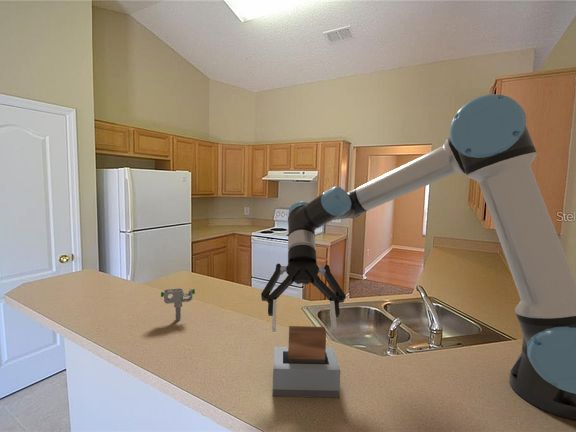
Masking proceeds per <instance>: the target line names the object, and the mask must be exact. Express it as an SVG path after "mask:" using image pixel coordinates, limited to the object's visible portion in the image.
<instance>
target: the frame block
mask: <svg viewBox="0 0 576 432" xmlns="http://www.w3.org/2000/svg"><path fill="white" fill-rule="evenodd" d="M273 352H274V353H273V371H272V397H293V398H294V397H296V398H297V397H298V398H300V397H301V398H302V397H305V398H306V397H307V398H340V388H341V386H340V384H341V369H340V365H339V362H338V358H337V355H336V352H335V349H334V347H326V351H325V364H288V346H274V351H273Z"/></svg>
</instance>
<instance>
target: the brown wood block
mask: <svg viewBox="0 0 576 432" xmlns="http://www.w3.org/2000/svg"><path fill="white" fill-rule="evenodd" d="M326 345H327V331H326V328H325V326H310V325H309V326H305V325H304V326H301V325H297V326H296V325H289V326H288V346H287V347H288V364H325V351H326V348H327V346H326Z"/></svg>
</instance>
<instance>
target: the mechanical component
mask: <svg viewBox="0 0 576 432" xmlns="http://www.w3.org/2000/svg"><path fill="white" fill-rule="evenodd" d="M183 290H184V289H183V288H171V289H163V291H160V297H161V298H163V301H164V303H165V304H174V305H173V308H175V321H177V322H179V321H181V318H182V315H181V314H182V313H181V311H182V310H181V308H182V307H183V303H188V302H191V301H192V300H193V295H195V293H196V290H195V289H194V288H192V287H191V288H189V290H188V292H185V291H183ZM170 295H172V296H170Z"/></svg>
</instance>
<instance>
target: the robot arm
mask: <svg viewBox="0 0 576 432" xmlns="http://www.w3.org/2000/svg"><path fill="white" fill-rule="evenodd" d="M526 119H527V114H526V112H525V110H524V108H523V106H521V104H520V103H518V101H517V100H515V99H514V98H512V97H510V96H507V95H504V94H498V93H497V94H496V93H493V94H485V95H480V96H478V97H476V98H473V99H471V100H470V101H468V102H467V103H465V104H463V106H461V108H459V109H458V111H457V112H456V114H455V115H454V116H453V118H452V120H451V124H450V128H449V138H447V139H445V141H444V143H443V145H442V146H440V147H437V148H436V149H434V150H431V151H429V152H427V153H425V154H423V155H422V156H419V157H417V158H414V159H413V160H411V161H409V162H406V163H404V164H402V165H401V166H399V167H397V168H394V169H393V170H390V171H389V172H386V173H384V174H383V175H380V176H378V177H376V178H375V179H371V180H370V181H368V182H366V183H364V184H362V185H360V186H359V187H356V188H355V189H352V190H350V191H348V192H347V191H346V190H345V189H344V188H342V187H341V186H338V185H336V186H333V187H331V188H329V189H327V190H325V191H324V192H323V193H322V194H319V196H317V197H316V198H314V199H313V200H311V201H310V202H308V201H307V202H306V201H299V202H294V203H293V204H291V205H290V207H288V208H289V210H288V215H287V224H288V226H287V227H288V229H287V230H288V231H287V232H288V234H287V237H288V238H287V265H286V266H285V265H281V263H276V265H275V270H274V272H273V274H272V276H271V277H270V279H269V280H268V282H267V283H266V285H265V287H264V289H263V290H262V291H261V294H260V295H261V296H260V297H261V301H262V302H267V305H268V306H267V315H268V317H269V316H270V317H272V323H271V324H272V325H271V327H272V329H271V330H272V332H275V333H276V325H277V300H278V298H279V297H280V296H281V295H283V293H285V291H286V290H287V289H288V288H289V287H290V286H292V284H293V283H295V284H297V285H301V284H304V285H309V284H312V286H314V287H316V288H317V289H318V291H320V293H321V294H322V295H323V296H324V297H325V298H326V299H327V300H328V301H329V302H330V303H329V306H328V307H329V319H330V328H331V333H332V334H333V333H334V334H335V333H336V331H337V330H338V325H337V318H339V316H340V304H341V303H342V304H343V303H344V302H345V300H346V297H347V296H346V294H345V292H344V290H343V289H342V288H341V286H340V285H339V283H338V281H337V279H336V278H335V277H334V276H333V274H332V272H331V269H330V265H329V264H325V265H324V266H318V264H317V263H318V262H317V261H318V260H317V252H316V250H317V248H316V230H317V229H319V228H321V227H322V226H325V225H326V224H328V223H330V222H332V221H334V220H343V219H345V220H346V219H355V218H357V217H360V216H362V215H363V214H364V213H366V212H368V211H370V210H372V209H374V208H375V209H376V208H378V207H379V206H381V205H384V204H386V203H388V202H391V201H394V200H396V199H398V198H401V197H403V196H406V195H408V194H410V193H412V192H415V191H417V190H419V189H421V188H424V187H427V186H428V185H431V184H434V183H436V182H438V181H441V180H443V179H445V178H448V177H450V176H452V175H455V174H456V173H457V174H461V175H465V174H466V177H467V178H469V179H471V180H473V181H475V182H477V183H478V185H479V188H480V191H481V194H482V196H483V199H484V201H485V204H486V207H487V210H488V213H489V215H490V218H491V221H492V224H493V226H494V229H495V232H496V235H497V237H498V241H499V244H500V245H501V246H500V247H501V249H502V252H503V255H504V257H505V260H506V262H507V265H508V268H509V271H510V273H511V277H512V280H513V283H514V284H515V287H516V291H517V292H518V296H519V298H520V300H519V302H518V304H517V305H516V306H515V307H514V311H515V315H516V318H517V319H518V323H519V326H520V328H521V329H520V330H521V332H522V334H523V335H522V344H521V346H522V347H521V352H520V353H519V355H518V357H517V359H516V361H515V362H514V364H513V366H512V367H511V369H510V371H509V380H508V383H509V386H510V387H511V389H512V390H513V392H515V393H516V394H517V395H518V396H519V397H520V398H522V399H523V400H525V401H527V402H528V403H530V404H531V405H533V406H535V407H537V408H539V409H540V410H543V411H546V412H547V413H550V414H553V415H556V416H558V417H562V418H566V419H569V420H575V421H576V278H575V277H574V275H573V274H574V273H573V272H572V271H573V270H572V269H571V267H570V264H569V261H568V259H567V256H566V254H565V251H564V249H563V246H562V243H561V241H560V238H559V235H558V233H557V230H556V228H555V225H554V222H553V221H552V217H551V215H550V213H549V211H548V210H549V209H548V207H547V205H546V203H545V200H544V197H543V195H542V192H541V190H540V187H539V184H538V181H537V179H536V177H535V175H534V172H533V169H532V163H533V162H534V160H535V159H536V157H537V156H538V153H537V150H536V147H535V145H534V142H533V140H532V137H531V134H530V133H529V129H528V127H527V120H526ZM284 273H286V274H287V276H286V278H285V279H284V280H282V282H281V283H280V284H278V286H277V287H275V285H276V283H278V280H279V279H280V278H281V277H280V276H282V275H283V274H284ZM318 274H321V275H322V276H323V277H324V279H325V280H326V283H327V284H328V285H326V283H325V282H323V280H322V279H321V278H320V276H319V275H318ZM274 287H275V289H274Z"/></svg>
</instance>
